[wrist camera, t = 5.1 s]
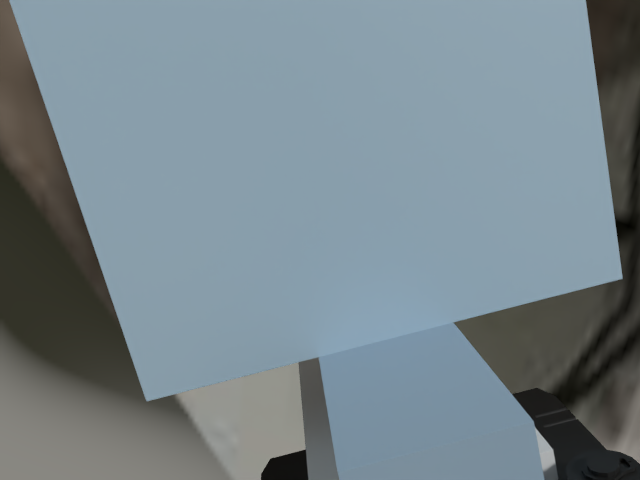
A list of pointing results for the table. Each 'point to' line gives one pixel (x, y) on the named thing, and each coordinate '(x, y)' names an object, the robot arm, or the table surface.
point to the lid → (336, 199)
